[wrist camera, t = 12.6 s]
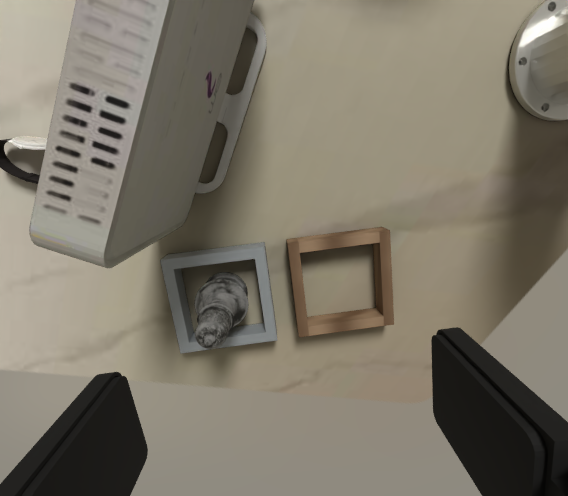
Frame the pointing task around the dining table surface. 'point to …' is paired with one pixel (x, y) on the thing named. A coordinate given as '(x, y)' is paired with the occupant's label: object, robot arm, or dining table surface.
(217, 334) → the marbled chess piece
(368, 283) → the dining table surface
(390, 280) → the walnut collar
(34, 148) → the watch
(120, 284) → the dining table surface
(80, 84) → the network device
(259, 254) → the slate-grey collar
